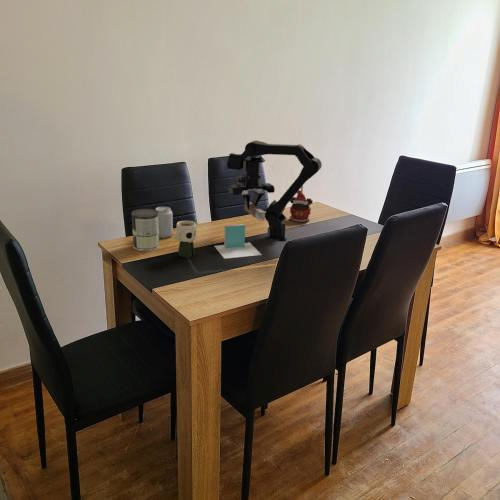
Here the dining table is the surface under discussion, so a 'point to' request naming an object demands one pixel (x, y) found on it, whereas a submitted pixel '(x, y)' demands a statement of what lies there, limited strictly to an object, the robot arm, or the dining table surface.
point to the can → (165, 222)
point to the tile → (234, 236)
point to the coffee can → (145, 229)
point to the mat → (238, 251)
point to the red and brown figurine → (300, 207)
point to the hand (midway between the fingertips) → (250, 208)
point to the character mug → (186, 238)
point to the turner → (255, 211)
